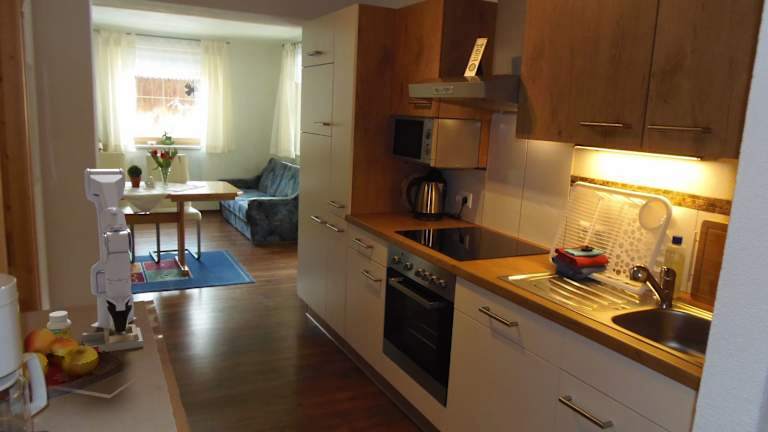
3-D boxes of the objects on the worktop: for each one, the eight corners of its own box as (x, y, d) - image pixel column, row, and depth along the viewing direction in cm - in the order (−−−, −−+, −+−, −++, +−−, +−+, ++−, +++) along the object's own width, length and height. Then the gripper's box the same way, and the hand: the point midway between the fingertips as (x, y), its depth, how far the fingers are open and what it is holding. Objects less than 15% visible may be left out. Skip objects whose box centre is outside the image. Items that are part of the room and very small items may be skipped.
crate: (105, 348, 140) (104, 338, 140) (104, 337, 147) (103, 327, 146) (137, 344, 144) (137, 334, 143) (135, 333, 150) (135, 324, 150)
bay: (83, 357, 137) (82, 347, 136) (83, 342, 145) (82, 333, 145) (143, 348, 143) (142, 339, 143) (139, 335, 152) (139, 326, 151)
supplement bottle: (71, 344, 144) (70, 308, 142) (73, 351, 140) (72, 315, 138) (47, 347, 141) (45, 311, 139) (48, 355, 137) (46, 318, 135)
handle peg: (118, 333, 147) (117, 308, 146) (131, 335, 146) (130, 310, 145) (107, 339, 143) (106, 313, 142) (121, 341, 142) (120, 315, 141)
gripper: (99, 271, 146) (101, 320, 149) (101, 287, 134) (103, 341, 136) (129, 269, 150) (130, 317, 152) (133, 284, 137) (135, 336, 140)
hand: (119, 328), depth 144 cm, fingers closed on handle peg, 4 cm apart
